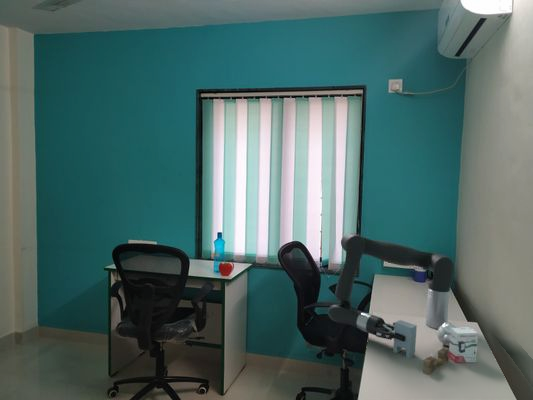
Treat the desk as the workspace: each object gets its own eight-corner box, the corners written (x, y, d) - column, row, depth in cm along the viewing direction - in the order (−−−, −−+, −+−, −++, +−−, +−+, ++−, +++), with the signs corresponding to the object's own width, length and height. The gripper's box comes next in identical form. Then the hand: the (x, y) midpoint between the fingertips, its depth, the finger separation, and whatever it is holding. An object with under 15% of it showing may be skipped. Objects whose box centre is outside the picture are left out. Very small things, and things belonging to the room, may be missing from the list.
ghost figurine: (432, 345, 170) (433, 321, 169) (442, 338, 176) (443, 316, 175) (454, 352, 163) (455, 328, 162) (463, 346, 170) (465, 322, 169)
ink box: (455, 363, 155) (457, 333, 154) (448, 357, 160) (450, 327, 158) (476, 362, 156) (478, 332, 155) (468, 356, 161) (470, 327, 160)
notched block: (398, 348, 165) (400, 319, 164) (414, 355, 160) (416, 325, 159) (393, 351, 163) (394, 322, 162) (409, 358, 158) (411, 328, 156)
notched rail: (443, 358, 158) (444, 347, 158) (448, 360, 157) (449, 349, 156) (422, 372, 147) (423, 360, 147) (428, 374, 146) (429, 362, 145)
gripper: (360, 319, 167) (399, 332, 155) (380, 311, 177) (417, 323, 164) (360, 336, 168) (398, 351, 155) (379, 328, 178) (416, 341, 165)
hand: (407, 337), depth 160 cm, fingers closed on notched block, 4 cm apart
